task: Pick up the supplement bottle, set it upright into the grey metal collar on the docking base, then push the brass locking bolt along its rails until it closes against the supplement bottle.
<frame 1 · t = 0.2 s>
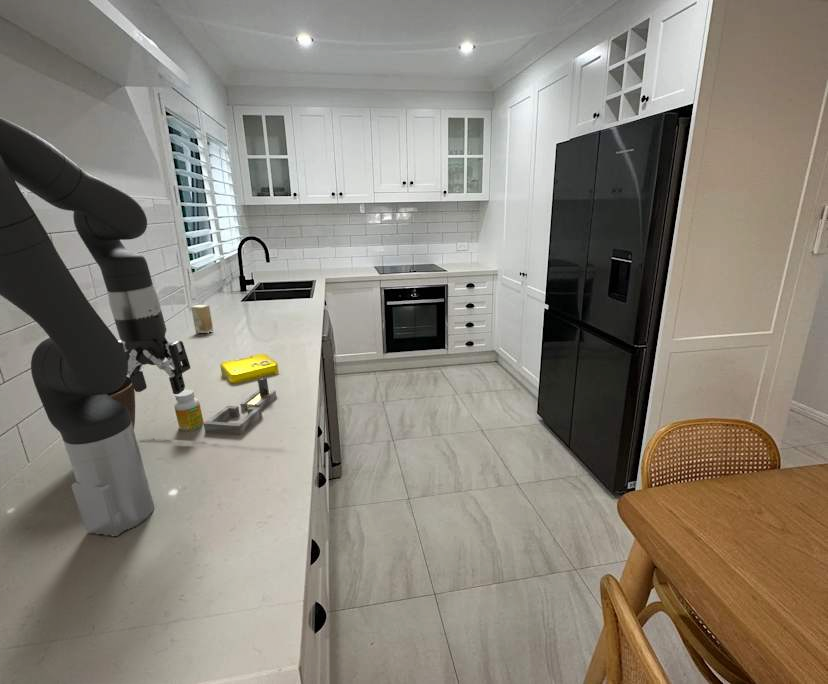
hand: (160, 391, 83), 18 cm above the counter, tool pointing down, fingers open, 8 cm apart
docking base: (235, 427, 105), on the counter
skincare box: (205, 333, 189), on the counter
element tile: (250, 376, 139), on the counter
locking bolt: (258, 393, 114), point 4 cm above the counter, slide at 4.5 cm
supplement bottle: (192, 429, 105), on the counter
plant pot: (111, 455, 95), on the counter
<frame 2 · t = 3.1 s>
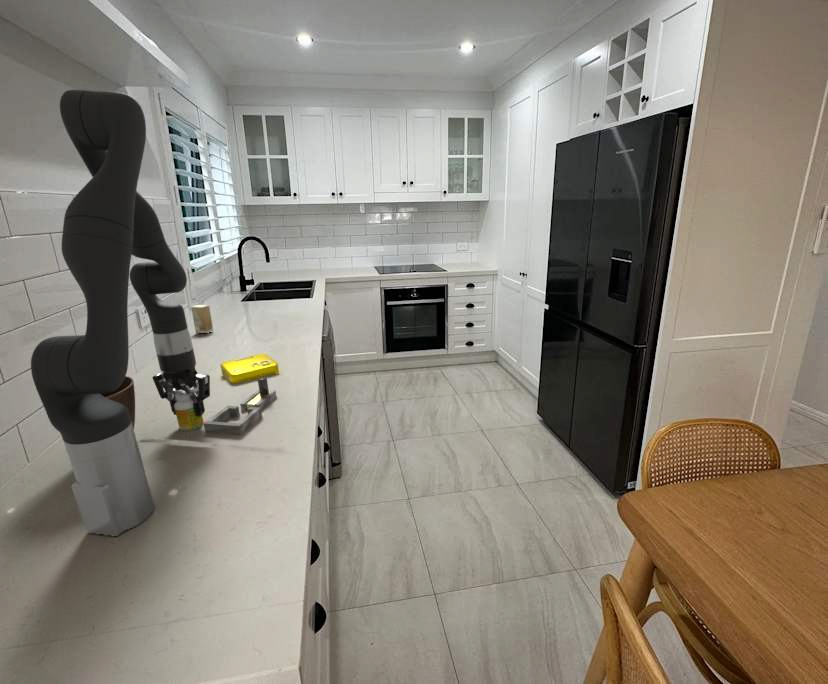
hand: (189, 414, 104), 4 cm above the counter, tool pointing down, fingers closed on supplement bottle, 5 cm apart
supplement bottle: (192, 429, 105), on the counter, touching gripper
everything else where it was.
when the fingers open (5 cm above the counter, at t = 8.8 s): supplement bottle stays where it is, resting on docking base.
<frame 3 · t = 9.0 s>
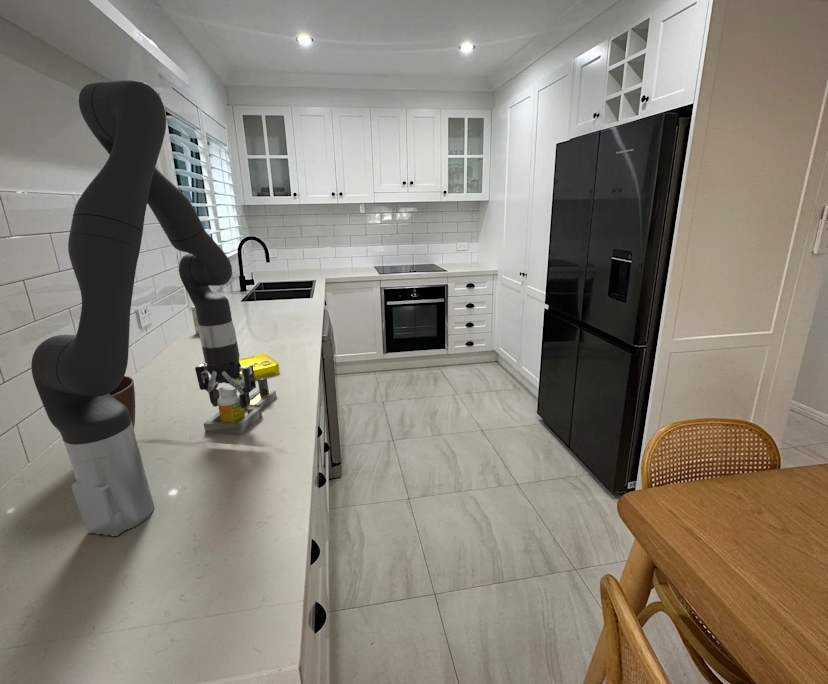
hand: (231, 405, 103), 6 cm above the counter, tool pointing down, fingers open, 7 cm apart
supplement bottle: (234, 425, 105), point 1 cm above the counter, touching docking base
everything else where it was.
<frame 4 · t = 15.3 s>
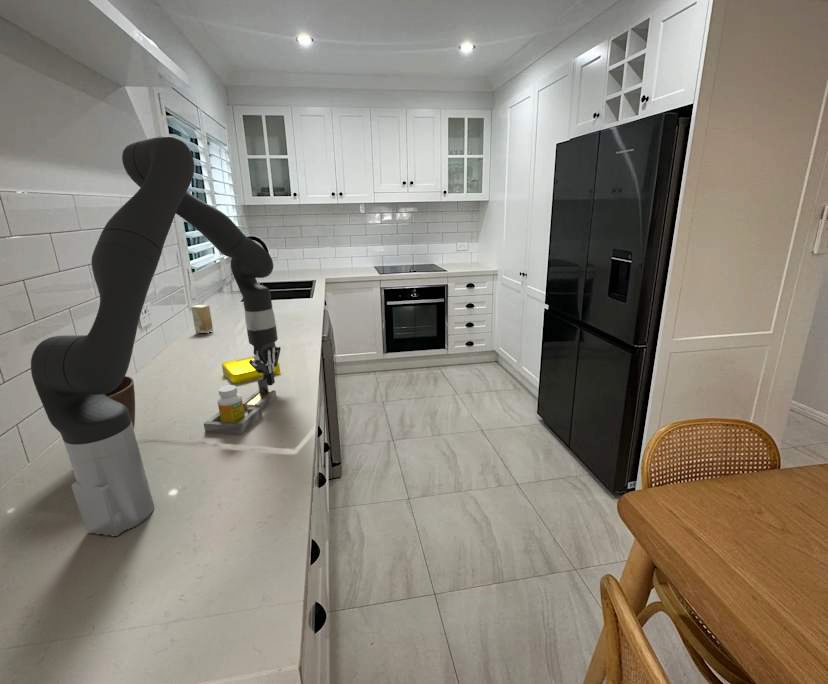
hand: (270, 384, 120), 4 cm above the counter, tool pointing down, fingers closed
locking bolt: (257, 393, 114), point 4 cm above the counter, slide at 4.4 cm, touching gripper
everything else where it was.
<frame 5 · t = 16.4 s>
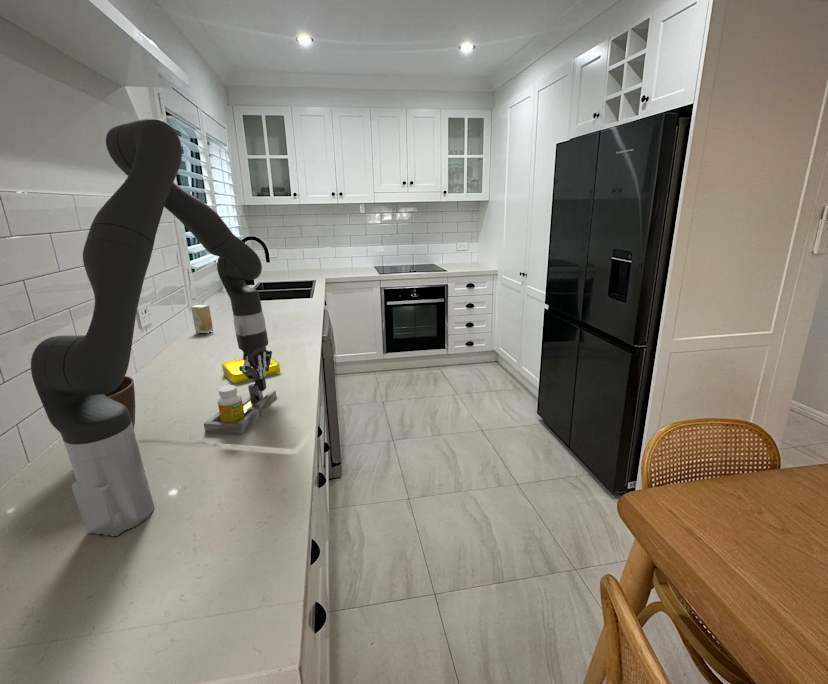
hand: (261, 389, 116), 4 cm above the counter, tool pointing down, fingers closed
locking bolt: (248, 400, 110), point 4 cm above the counter, slide at -0.1 cm, touching gripper
everything else where it was.
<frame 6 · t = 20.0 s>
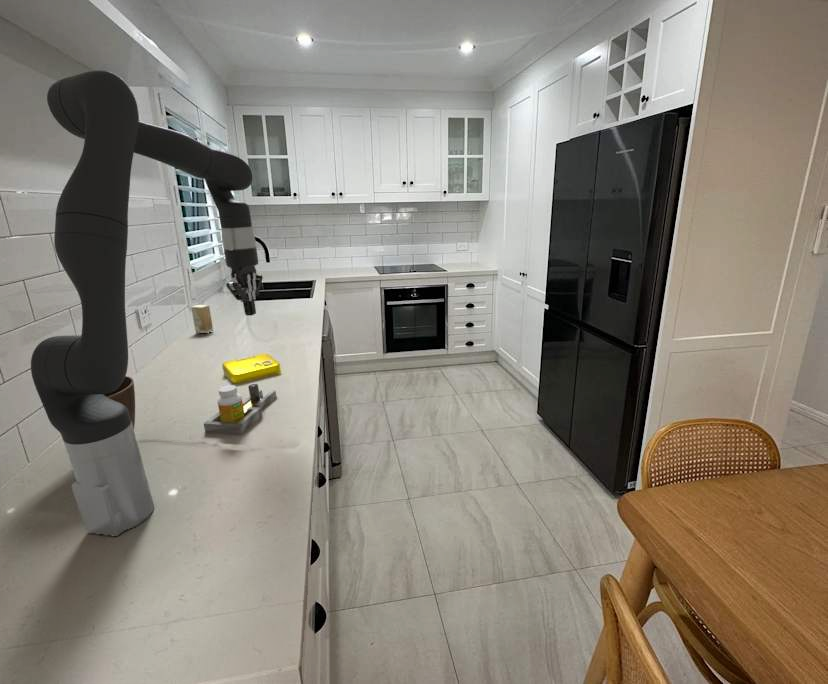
hand: (250, 314, 110), 25 cm above the counter, tool pointing down, fingers closed
locking bolt: (248, 400, 110), point 4 cm above the counter, slide at 0.0 cm
everything else where it was.
at the end: supplement bottle 0.1 cm off-centre on the docking base, point 0.6 cm above the docking base's base; supplement bottle tilted 0°; locking bolt slide at 0.0 cm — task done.
